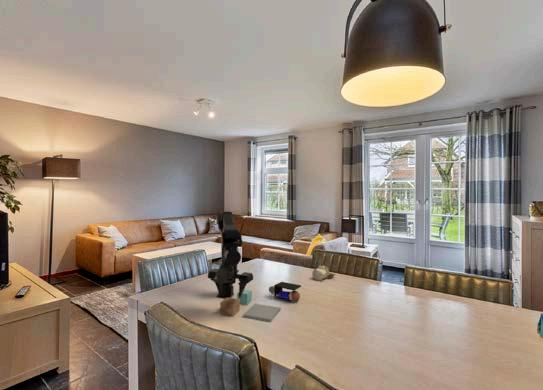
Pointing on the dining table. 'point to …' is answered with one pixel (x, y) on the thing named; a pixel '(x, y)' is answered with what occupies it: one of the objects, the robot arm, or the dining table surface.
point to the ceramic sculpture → (321, 273)
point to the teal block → (245, 297)
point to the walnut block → (229, 306)
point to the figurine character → (278, 291)
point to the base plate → (262, 312)
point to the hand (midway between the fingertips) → (230, 296)
